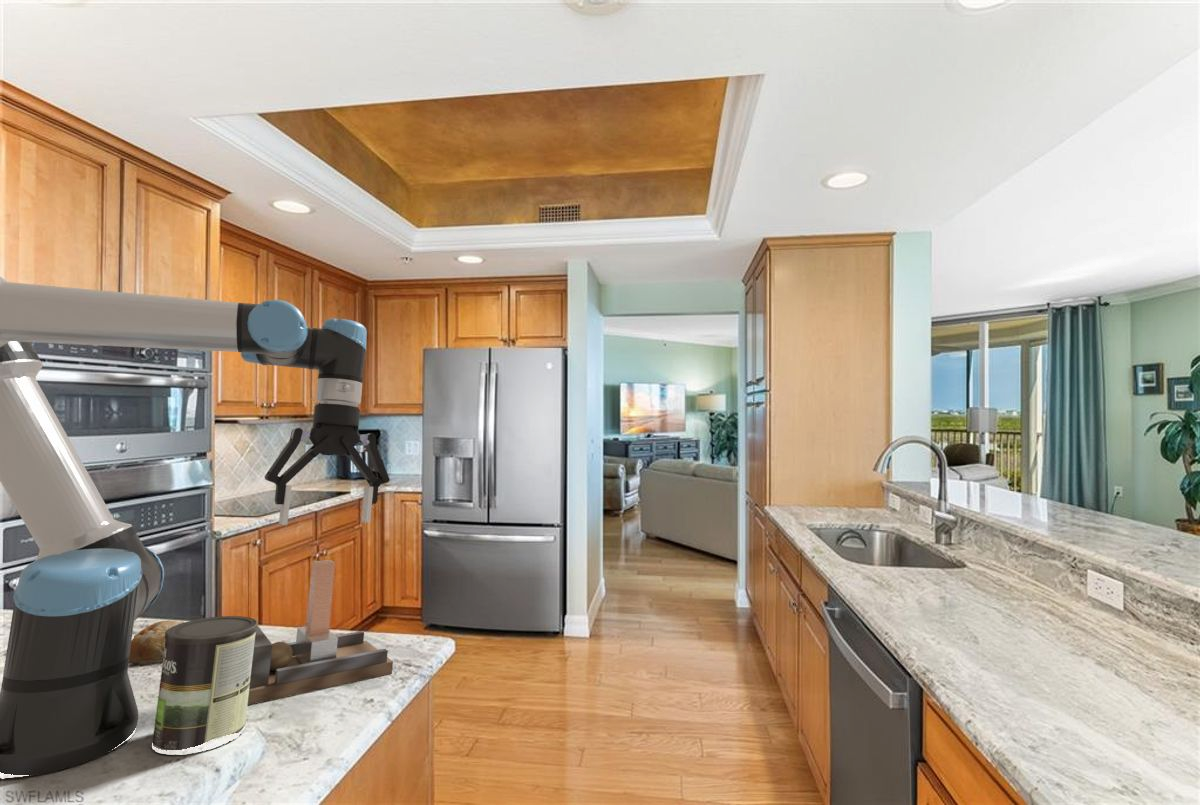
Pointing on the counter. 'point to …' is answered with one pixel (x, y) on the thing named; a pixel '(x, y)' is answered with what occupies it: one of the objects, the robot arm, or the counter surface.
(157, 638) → the bread roll
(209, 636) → the coffee can
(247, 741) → the counter surface
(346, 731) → the counter surface
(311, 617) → the sliding jaw
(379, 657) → the base
